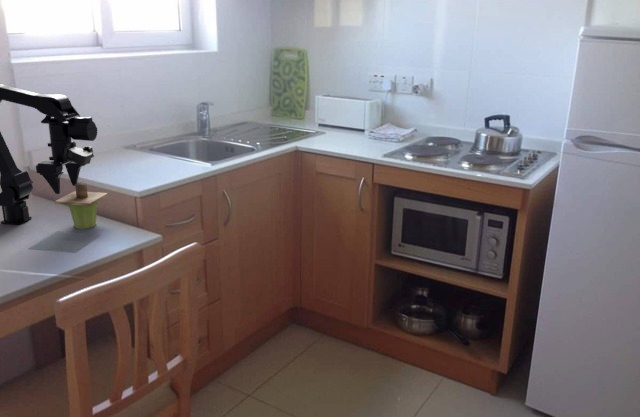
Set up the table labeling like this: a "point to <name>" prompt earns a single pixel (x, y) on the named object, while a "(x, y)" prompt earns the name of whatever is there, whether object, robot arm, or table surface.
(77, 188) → the lid
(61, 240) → the mat
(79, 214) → the plant pot
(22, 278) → the table surface
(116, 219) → the table surface
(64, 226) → the table surface
